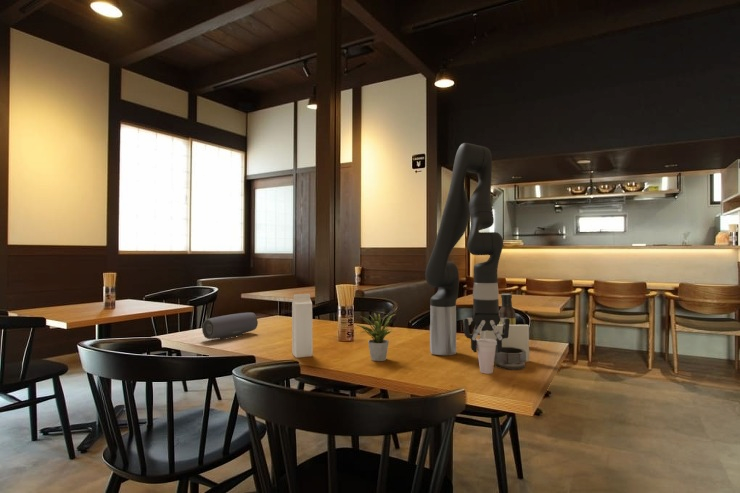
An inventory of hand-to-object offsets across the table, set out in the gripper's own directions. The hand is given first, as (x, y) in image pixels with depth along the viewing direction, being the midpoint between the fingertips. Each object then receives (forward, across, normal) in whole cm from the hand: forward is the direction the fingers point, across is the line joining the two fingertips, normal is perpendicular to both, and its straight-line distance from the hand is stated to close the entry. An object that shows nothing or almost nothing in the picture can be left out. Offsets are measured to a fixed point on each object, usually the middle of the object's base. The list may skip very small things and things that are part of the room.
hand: (486, 351), depth 129 cm
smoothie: (+6, 0, 0) cm, 6 cm away
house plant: (+6, -33, +16) cm, 37 cm away
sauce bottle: (+6, +17, +38) cm, 42 cm away
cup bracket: (+6, +9, +7) cm, 13 cm away
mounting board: (+6, +9, +13) cm, 17 cm away
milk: (+6, -61, +20) cm, 65 cm away
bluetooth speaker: (+6, -99, +51) cm, 112 cm away
